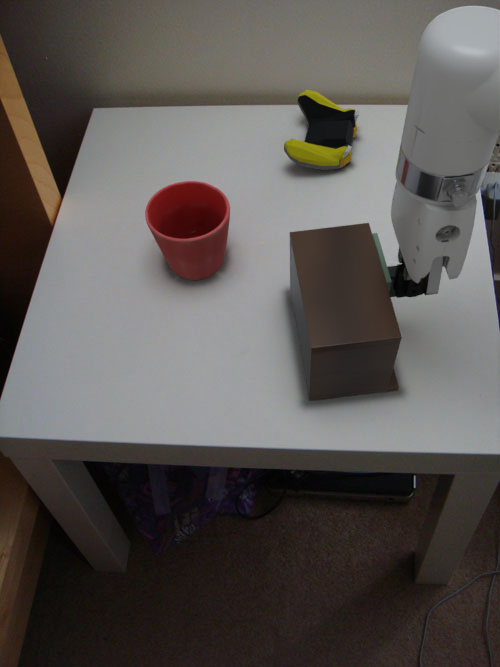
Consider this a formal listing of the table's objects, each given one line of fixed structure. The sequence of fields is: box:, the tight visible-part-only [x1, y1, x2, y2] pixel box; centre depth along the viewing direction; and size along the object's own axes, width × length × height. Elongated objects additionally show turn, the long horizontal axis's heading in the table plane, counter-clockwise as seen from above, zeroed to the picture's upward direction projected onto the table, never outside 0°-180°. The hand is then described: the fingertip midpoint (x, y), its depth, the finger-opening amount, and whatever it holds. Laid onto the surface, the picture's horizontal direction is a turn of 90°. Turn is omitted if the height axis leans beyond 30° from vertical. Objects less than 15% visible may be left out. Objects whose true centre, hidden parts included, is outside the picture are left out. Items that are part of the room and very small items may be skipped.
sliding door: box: [372, 232, 397, 298], centre depth 72 cm, size 5×7×9 cm, turn 6°
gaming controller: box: [283, 89, 360, 171], centre depth 93 cm, size 15×6×10 cm
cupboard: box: [289, 222, 403, 402], centre depth 70 cm, size 11×16×12 cm, turn 6°
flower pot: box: [144, 180, 231, 281], centre depth 80 cm, size 11×11×10 cm
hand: (407, 290), depth 67 cm, fingers closed
